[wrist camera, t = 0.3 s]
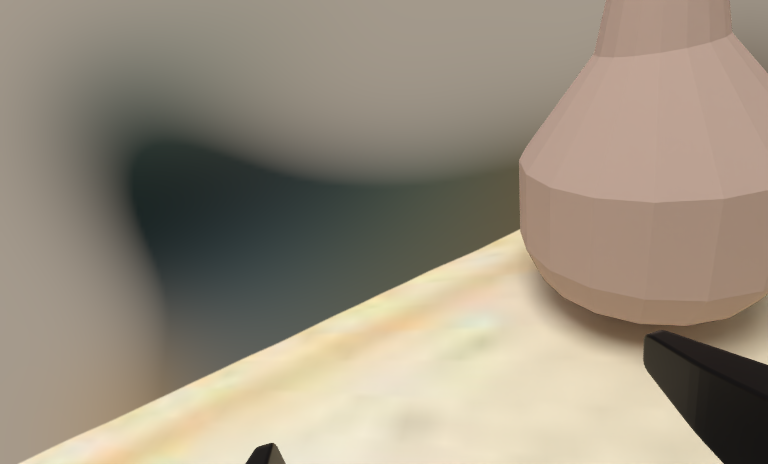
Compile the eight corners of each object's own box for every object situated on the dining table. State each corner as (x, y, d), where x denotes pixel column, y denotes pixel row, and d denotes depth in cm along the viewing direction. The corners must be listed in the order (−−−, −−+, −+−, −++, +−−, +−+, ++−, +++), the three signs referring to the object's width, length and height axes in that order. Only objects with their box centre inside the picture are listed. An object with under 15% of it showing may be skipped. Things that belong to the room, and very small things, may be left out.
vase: (622, 224, 43) (644, -125, 29) (841, 310, 28) (1103, -333, 14) (487, 286, 39) (439, -84, 25) (657, 425, 24) (770, -313, 10)
